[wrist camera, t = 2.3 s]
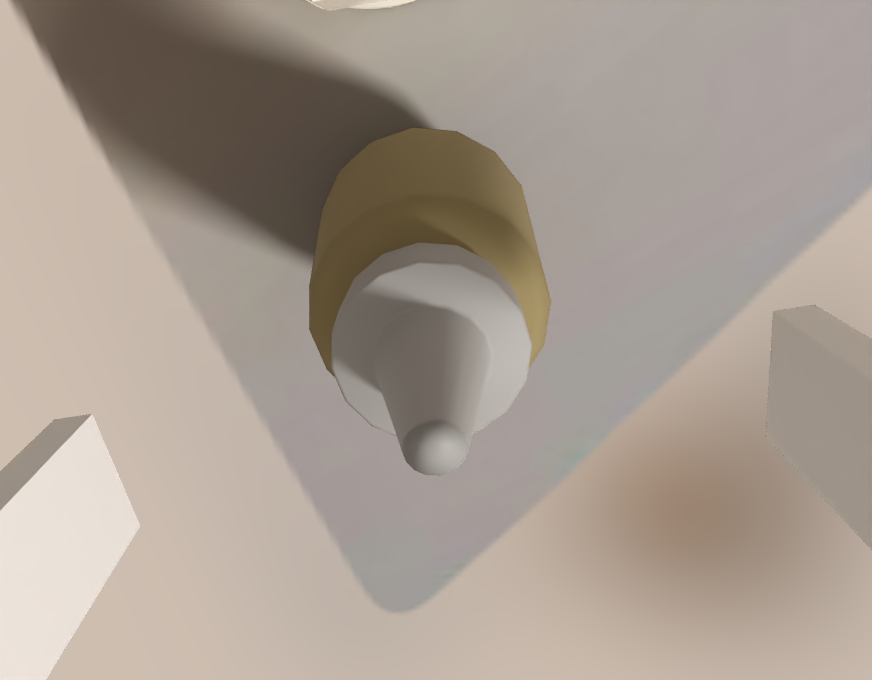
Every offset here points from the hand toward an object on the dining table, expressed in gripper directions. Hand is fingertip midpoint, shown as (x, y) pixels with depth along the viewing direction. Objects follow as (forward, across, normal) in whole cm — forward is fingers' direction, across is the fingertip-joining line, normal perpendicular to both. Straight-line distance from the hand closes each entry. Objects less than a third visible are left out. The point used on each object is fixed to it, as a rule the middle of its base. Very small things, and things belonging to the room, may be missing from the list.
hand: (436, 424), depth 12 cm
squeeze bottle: (+17, 0, 0) cm, 17 cm away
